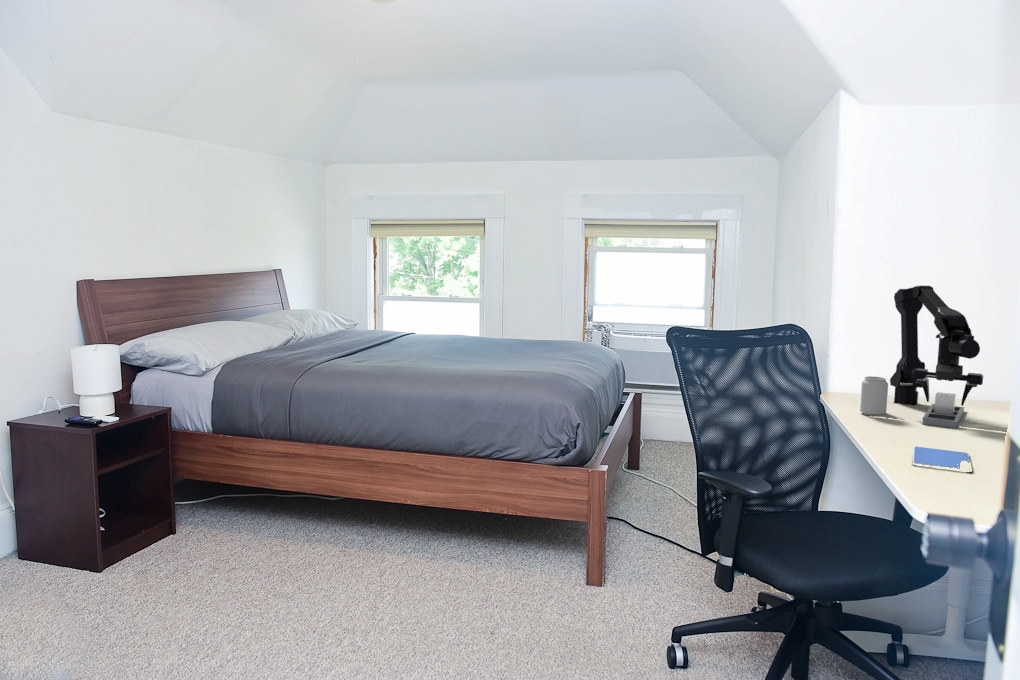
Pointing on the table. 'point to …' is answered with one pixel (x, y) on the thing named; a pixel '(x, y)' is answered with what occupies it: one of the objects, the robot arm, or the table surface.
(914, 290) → the robot arm
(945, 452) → the tablet computer
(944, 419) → the gray compartment tray
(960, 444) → the table surface
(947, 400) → the metal block
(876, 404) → the can
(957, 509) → the table surface
